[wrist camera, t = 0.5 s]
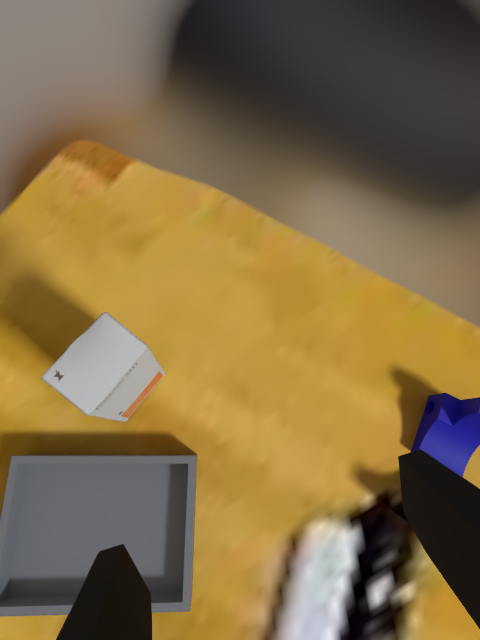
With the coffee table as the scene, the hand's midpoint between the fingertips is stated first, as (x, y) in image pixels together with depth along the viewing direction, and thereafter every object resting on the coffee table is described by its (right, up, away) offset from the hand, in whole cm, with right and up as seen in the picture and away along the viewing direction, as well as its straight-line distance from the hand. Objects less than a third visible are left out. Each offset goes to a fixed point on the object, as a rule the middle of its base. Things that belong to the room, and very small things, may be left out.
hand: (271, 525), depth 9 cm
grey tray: (-12, -12, +23) cm, 29 cm away
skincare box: (-11, -1, +27) cm, 29 cm away
